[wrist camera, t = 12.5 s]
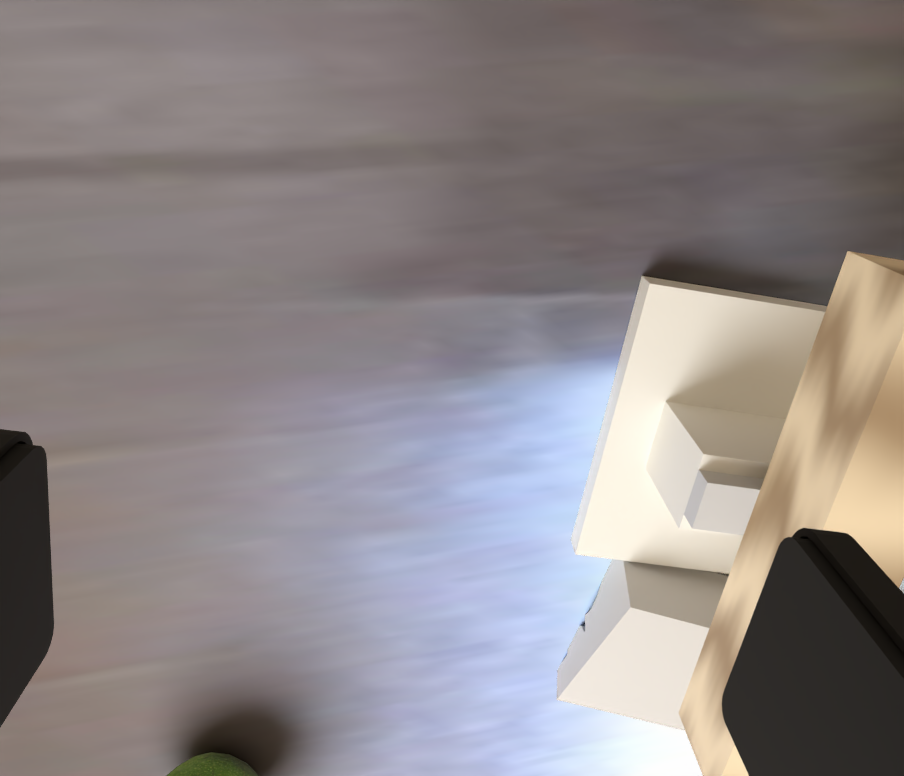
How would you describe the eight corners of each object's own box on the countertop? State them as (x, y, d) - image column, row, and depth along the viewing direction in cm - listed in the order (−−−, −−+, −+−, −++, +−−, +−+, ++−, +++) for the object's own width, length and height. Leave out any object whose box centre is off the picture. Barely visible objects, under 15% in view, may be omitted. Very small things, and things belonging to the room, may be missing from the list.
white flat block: (981, 741, 57) (1090, 670, 51) (1014, 809, 54) (1137, 741, 48) (552, 632, 52) (620, 539, 46) (556, 699, 48) (630, 607, 42)
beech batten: (847, 250, 31) (923, 284, 26) (941, 266, 31) (1032, 302, 26) (678, 713, 40) (712, 798, 35) (753, 720, 40) (796, 806, 35)
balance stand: (641, 275, 40) (697, 329, 32) (897, 317, 41) (1012, 379, 33) (570, 539, 46) (602, 641, 38) (795, 568, 47) (872, 672, 39)
